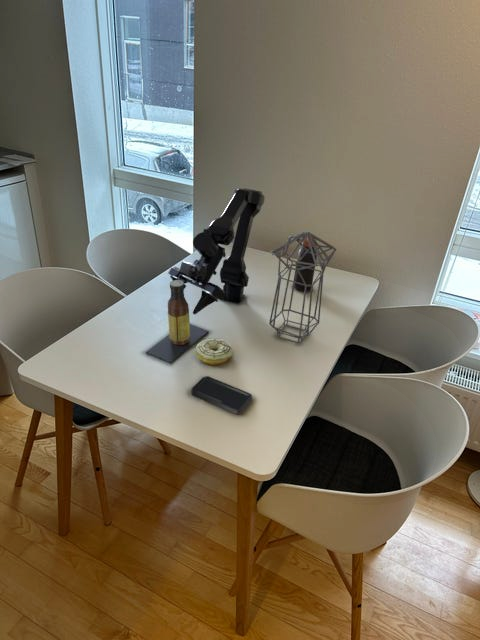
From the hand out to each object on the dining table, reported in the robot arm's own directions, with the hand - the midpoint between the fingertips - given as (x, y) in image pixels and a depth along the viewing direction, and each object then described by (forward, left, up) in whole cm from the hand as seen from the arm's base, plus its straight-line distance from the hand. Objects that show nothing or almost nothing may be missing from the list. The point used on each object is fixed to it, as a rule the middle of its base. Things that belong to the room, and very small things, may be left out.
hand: (182, 308), depth 141 cm
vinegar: (-24, -51, -11) cm, 58 cm away
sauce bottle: (0, +1, -11) cm, 11 cm away
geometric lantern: (-30, -18, -11) cm, 37 cm away
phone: (-22, +19, -11) cm, 31 cm away
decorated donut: (-12, +3, -11) cm, 17 cm away
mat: (+1, +2, -11) cm, 11 cm away
